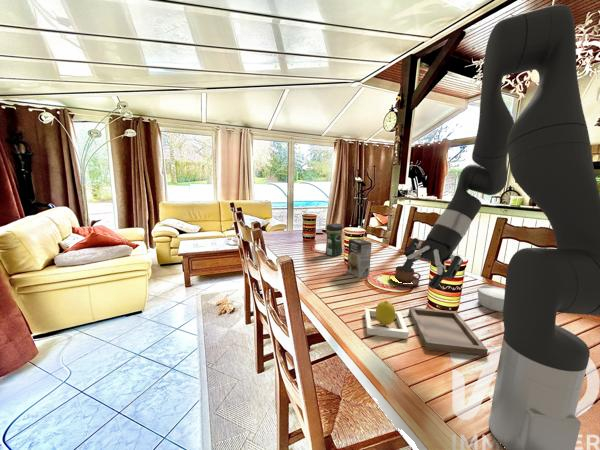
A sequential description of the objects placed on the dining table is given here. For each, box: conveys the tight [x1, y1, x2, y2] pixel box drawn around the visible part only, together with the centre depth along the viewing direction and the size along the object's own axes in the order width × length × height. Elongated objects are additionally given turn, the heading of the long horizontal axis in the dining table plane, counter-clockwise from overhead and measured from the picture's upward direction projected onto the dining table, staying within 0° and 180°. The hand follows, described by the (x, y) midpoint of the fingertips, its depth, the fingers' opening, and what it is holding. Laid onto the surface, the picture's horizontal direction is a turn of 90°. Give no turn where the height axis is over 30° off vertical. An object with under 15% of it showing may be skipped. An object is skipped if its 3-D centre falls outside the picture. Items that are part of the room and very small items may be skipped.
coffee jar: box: [325, 222, 343, 257], centre depth 142 cm, size 10×8×19 cm
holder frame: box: [364, 307, 410, 340], centre depth 73 cm, size 11×11×2 cm
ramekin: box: [476, 285, 505, 313], centre depth 84 cm, size 11×11×5 cm
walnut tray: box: [408, 306, 489, 357], centre depth 70 cm, size 18×14×2 cm
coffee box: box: [347, 237, 372, 279], centre depth 112 cm, size 9×6×16 cm
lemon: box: [375, 300, 396, 327], centre depth 72 cm, size 6×6×8 cm
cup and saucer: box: [388, 265, 421, 287], centre depth 104 cm, size 12×12×6 cm
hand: (416, 279), depth 67 cm, fingers open, 8 cm apart
